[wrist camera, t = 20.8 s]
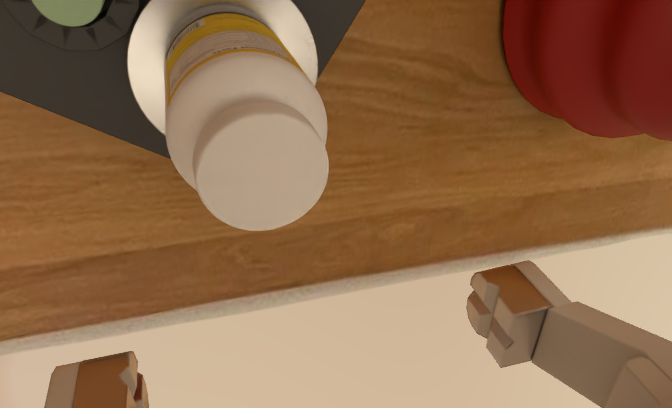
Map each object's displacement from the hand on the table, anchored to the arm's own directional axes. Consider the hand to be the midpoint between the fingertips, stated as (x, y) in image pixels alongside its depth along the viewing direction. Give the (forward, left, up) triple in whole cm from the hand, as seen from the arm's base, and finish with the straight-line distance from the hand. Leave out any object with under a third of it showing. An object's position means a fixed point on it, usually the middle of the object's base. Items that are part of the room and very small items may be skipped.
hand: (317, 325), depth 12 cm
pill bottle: (0, 0, -19) cm, 19 cm away
